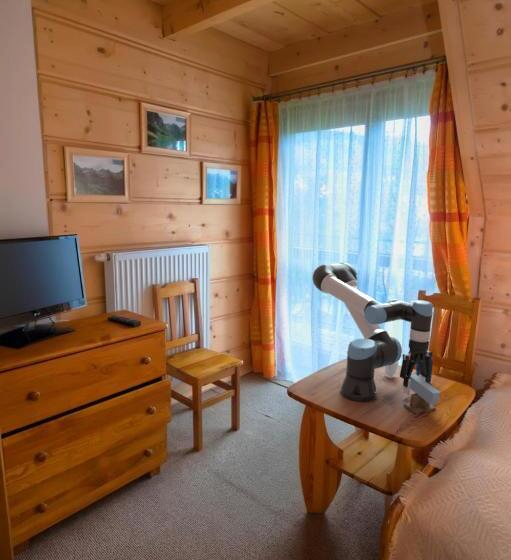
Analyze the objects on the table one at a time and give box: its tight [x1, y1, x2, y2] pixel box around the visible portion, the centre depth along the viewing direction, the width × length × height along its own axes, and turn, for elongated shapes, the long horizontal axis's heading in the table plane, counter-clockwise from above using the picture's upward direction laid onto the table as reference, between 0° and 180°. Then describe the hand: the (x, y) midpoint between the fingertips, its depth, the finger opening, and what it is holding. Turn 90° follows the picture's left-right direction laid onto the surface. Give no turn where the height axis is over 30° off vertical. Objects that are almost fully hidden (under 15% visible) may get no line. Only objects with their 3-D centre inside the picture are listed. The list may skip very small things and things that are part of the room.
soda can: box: [414, 357, 434, 384], centre depth 198 cm, size 7×7×12 cm
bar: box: [410, 373, 441, 406], centre depth 172 cm, size 4×14×5 cm, turn 23°
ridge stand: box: [403, 393, 437, 415], centre depth 173 cm, size 10×7×6 cm
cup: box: [382, 360, 400, 379], centre depth 205 cm, size 7×10×8 cm
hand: (413, 392), depth 177 cm, fingers open, 7 cm apart
